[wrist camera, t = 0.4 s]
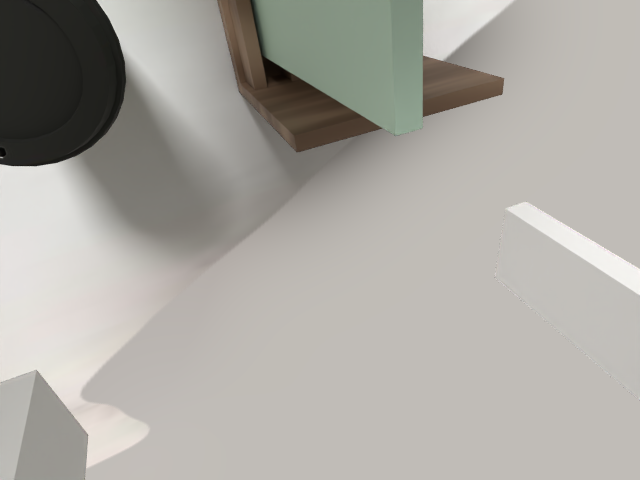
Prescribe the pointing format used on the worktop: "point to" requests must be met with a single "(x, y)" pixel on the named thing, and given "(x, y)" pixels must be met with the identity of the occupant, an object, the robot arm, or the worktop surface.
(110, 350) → the worktop surface
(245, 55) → the rack
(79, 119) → the coffee cup
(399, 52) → the sheet
